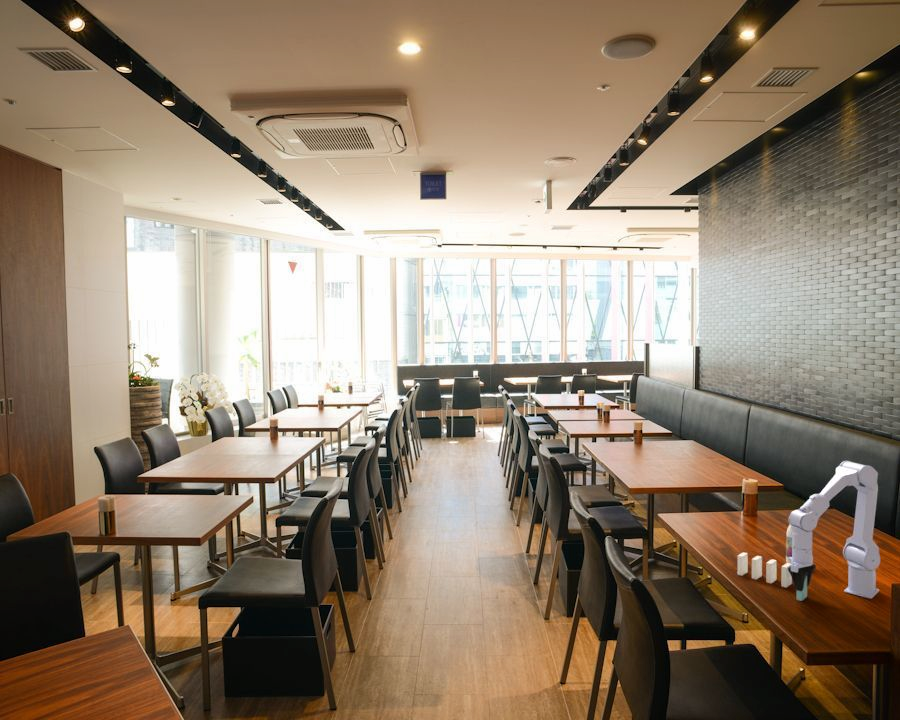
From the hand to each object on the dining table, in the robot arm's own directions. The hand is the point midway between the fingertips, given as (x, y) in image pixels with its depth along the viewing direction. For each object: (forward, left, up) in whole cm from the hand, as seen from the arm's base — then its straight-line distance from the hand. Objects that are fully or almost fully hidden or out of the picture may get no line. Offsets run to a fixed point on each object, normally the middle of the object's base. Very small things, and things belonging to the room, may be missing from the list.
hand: (801, 587), depth 204 cm
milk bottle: (-32, -12, -4) cm, 34 cm away
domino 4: (-8, -7, -3) cm, 12 cm away
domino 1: (-8, -22, -3) cm, 24 cm away
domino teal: (0, 0, -3) cm, 3 cm away
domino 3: (-8, -12, -3) cm, 15 cm away
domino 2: (-8, -17, -3) cm, 20 cm away
